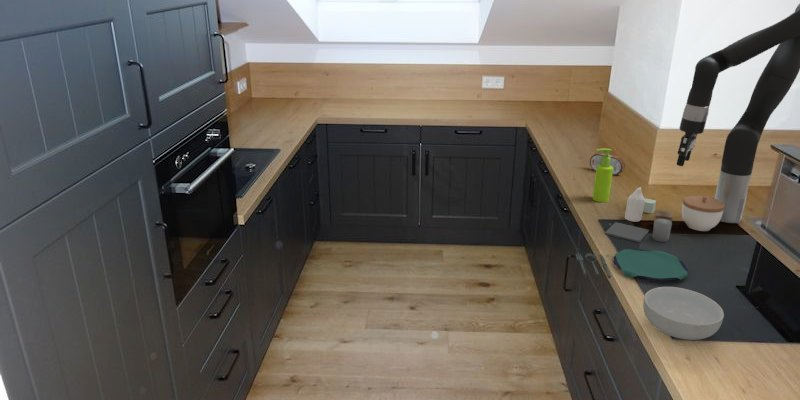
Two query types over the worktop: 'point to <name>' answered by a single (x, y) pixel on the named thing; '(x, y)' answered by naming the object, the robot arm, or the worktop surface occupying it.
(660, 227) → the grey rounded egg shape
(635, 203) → the white tall lump
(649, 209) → the sage bar
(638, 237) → the mat
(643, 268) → the teal place setting
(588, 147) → the worktop surface
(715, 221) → the lidded bowl
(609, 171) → the soap dispenser
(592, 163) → the tin
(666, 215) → the walnut cube
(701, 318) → the cereal bowl
